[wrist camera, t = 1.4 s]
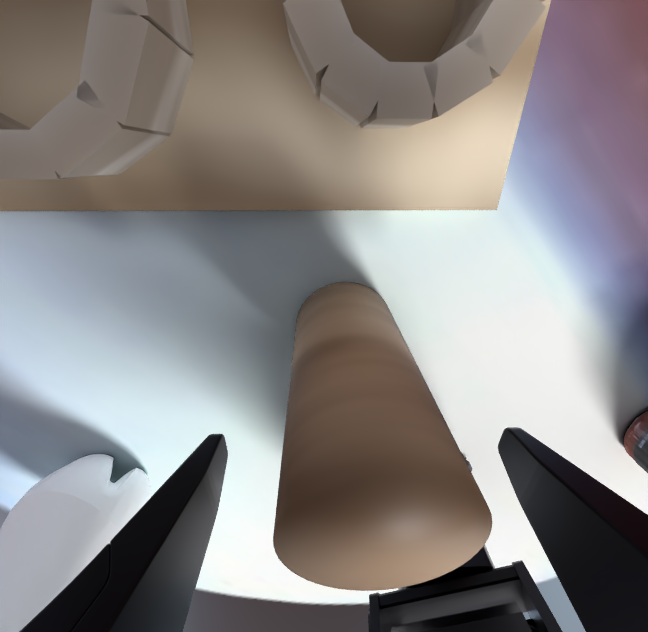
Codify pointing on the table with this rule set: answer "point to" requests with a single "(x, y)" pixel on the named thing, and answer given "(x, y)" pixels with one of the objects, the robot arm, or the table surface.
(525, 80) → the two-ring peg board
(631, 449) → the supplement bottle
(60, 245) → the table surface
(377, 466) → the walnut peg
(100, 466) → the water bottle
